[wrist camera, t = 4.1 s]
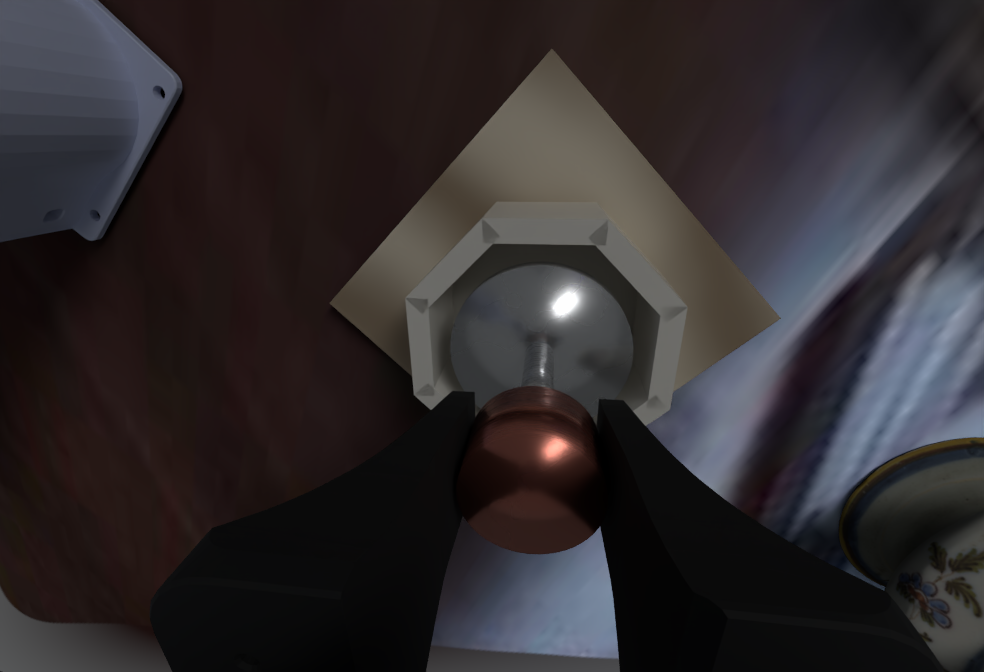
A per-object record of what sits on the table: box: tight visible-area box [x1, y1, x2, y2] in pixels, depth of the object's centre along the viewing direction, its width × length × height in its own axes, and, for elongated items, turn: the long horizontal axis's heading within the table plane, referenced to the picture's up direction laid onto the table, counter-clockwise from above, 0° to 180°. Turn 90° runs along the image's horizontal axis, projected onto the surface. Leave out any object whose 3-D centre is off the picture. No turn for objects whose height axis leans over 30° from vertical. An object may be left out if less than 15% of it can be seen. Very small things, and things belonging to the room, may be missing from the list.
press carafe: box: [405, 202, 688, 426], centre depth 18 cm, size 9×9×4 cm
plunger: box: [450, 261, 634, 554], centre depth 13 cm, size 6×6×8 cm
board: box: [330, 49, 781, 392], centre depth 20 cm, size 14×14×1 cm
